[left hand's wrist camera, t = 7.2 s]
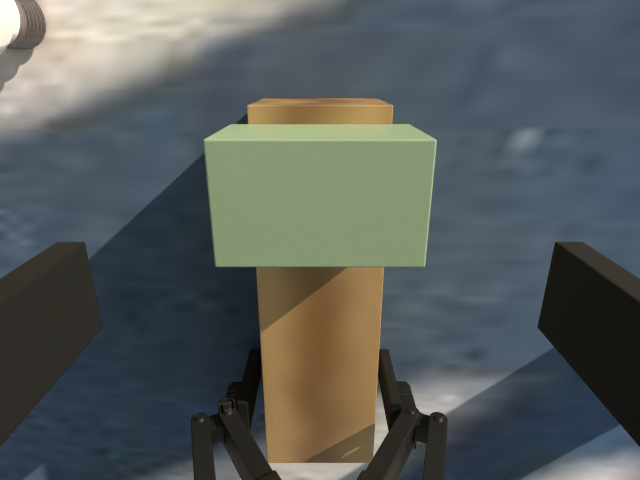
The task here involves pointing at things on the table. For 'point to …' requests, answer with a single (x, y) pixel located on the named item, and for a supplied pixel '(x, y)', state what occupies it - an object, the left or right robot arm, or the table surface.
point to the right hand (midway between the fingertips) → (319, 362)
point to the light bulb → (20, 24)
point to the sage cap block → (319, 195)
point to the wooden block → (319, 327)
